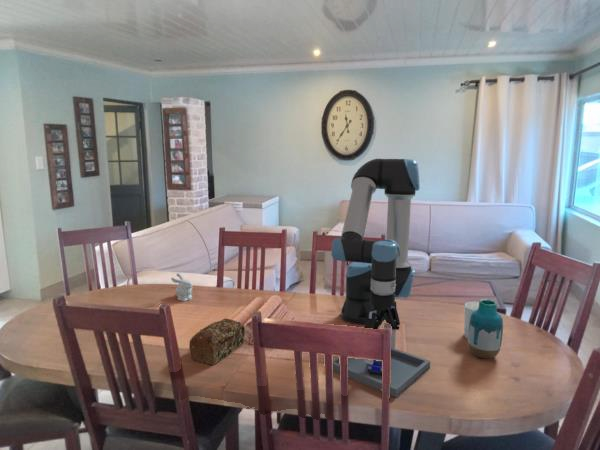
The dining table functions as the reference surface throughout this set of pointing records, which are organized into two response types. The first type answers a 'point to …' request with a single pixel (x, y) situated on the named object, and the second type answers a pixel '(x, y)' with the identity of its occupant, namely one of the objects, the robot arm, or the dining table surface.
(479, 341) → the vase
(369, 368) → the toy car
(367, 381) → the tray
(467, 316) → the candle holder
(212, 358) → the bread
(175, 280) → the rabbit
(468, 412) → the dining table surface
